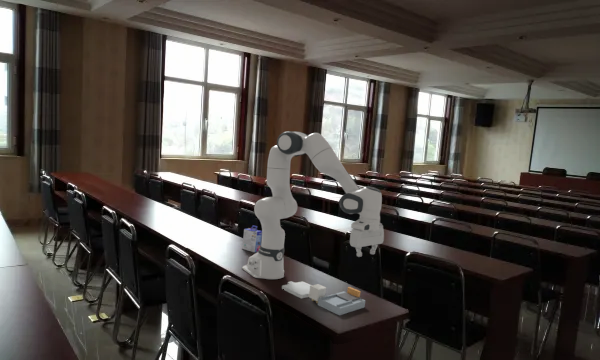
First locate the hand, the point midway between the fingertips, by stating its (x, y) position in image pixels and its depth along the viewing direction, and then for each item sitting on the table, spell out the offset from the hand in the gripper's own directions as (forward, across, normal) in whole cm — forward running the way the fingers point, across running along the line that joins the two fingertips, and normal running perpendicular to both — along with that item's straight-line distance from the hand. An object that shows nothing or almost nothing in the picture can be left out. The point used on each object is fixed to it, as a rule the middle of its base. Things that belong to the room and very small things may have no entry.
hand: (365, 255), depth 190 cm
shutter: (+18, +8, -1) cm, 20 cm away
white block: (+20, +18, -10) cm, 29 cm away
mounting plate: (+21, +16, -22) cm, 34 cm away
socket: (+21, +13, -1) cm, 24 cm away
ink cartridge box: (+19, -4, -85) cm, 87 cm away
